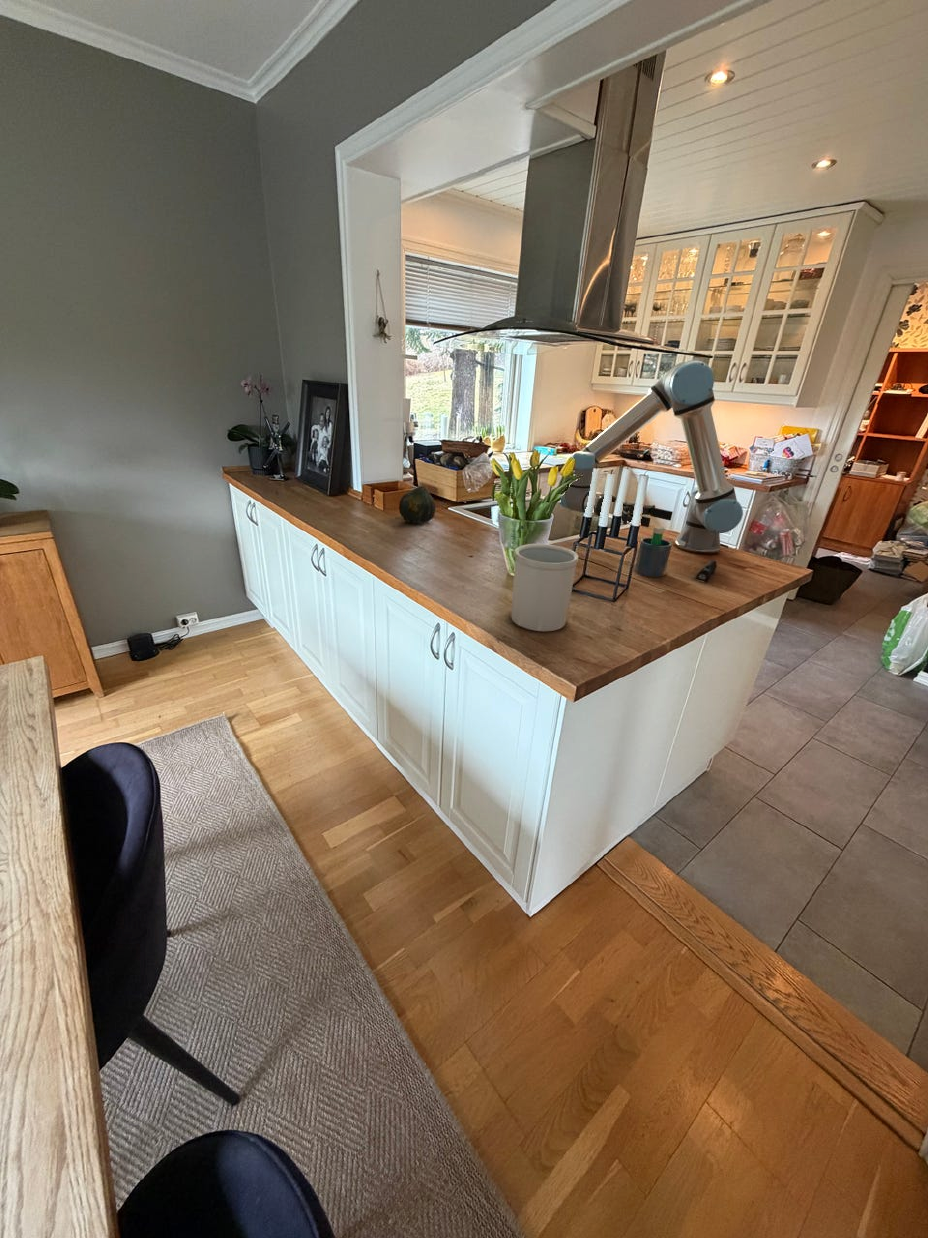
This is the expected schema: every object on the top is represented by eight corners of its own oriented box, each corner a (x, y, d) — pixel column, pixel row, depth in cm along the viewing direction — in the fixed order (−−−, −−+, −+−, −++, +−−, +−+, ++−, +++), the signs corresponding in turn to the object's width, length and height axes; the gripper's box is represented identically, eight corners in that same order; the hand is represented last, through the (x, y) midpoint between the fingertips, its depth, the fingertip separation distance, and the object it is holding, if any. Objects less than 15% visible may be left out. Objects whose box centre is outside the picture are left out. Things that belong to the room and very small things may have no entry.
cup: (663, 569, 158) (670, 539, 153) (665, 578, 150) (672, 547, 146) (635, 565, 160) (641, 536, 156) (634, 574, 152) (641, 544, 148)
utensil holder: (526, 601, 131) (532, 539, 123) (578, 617, 123) (588, 551, 115) (498, 621, 120) (503, 553, 112) (553, 639, 112) (562, 568, 104)
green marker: (654, 569, 156) (664, 526, 150) (654, 572, 153) (664, 529, 147) (645, 568, 157) (654, 525, 150) (645, 571, 154) (654, 528, 148)
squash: (386, 509, 193) (410, 482, 186) (402, 503, 206) (424, 478, 199) (411, 535, 194) (435, 510, 187) (425, 527, 207) (448, 504, 200)
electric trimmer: (718, 570, 159) (721, 561, 158) (707, 582, 148) (709, 573, 147) (706, 567, 162) (708, 558, 160) (694, 579, 150) (696, 570, 149)
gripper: (619, 511, 171) (677, 525, 157) (577, 521, 156) (636, 538, 142) (623, 489, 168) (682, 501, 154) (580, 498, 152) (641, 512, 138)
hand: (660, 519), depth 148 cm, fingers open, 13 cm apart
